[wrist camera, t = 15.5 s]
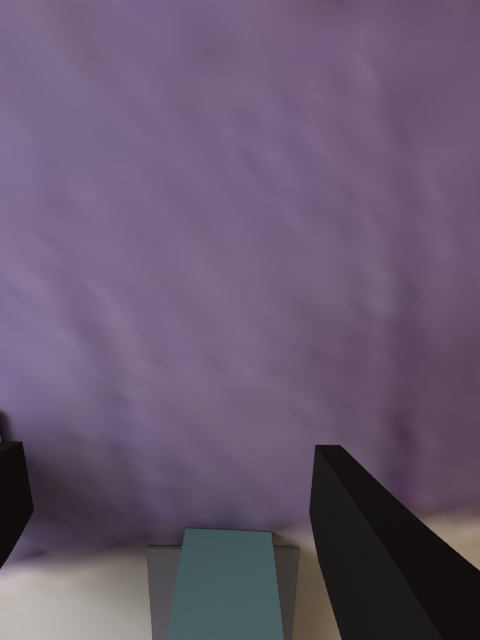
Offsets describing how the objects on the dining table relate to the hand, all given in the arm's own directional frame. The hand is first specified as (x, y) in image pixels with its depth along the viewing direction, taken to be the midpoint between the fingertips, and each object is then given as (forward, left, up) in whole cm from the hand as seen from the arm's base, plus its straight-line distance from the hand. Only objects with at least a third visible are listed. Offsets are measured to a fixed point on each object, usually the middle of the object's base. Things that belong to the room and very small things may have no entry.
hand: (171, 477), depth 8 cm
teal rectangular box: (+1, -18, -10) cm, 20 cm away
